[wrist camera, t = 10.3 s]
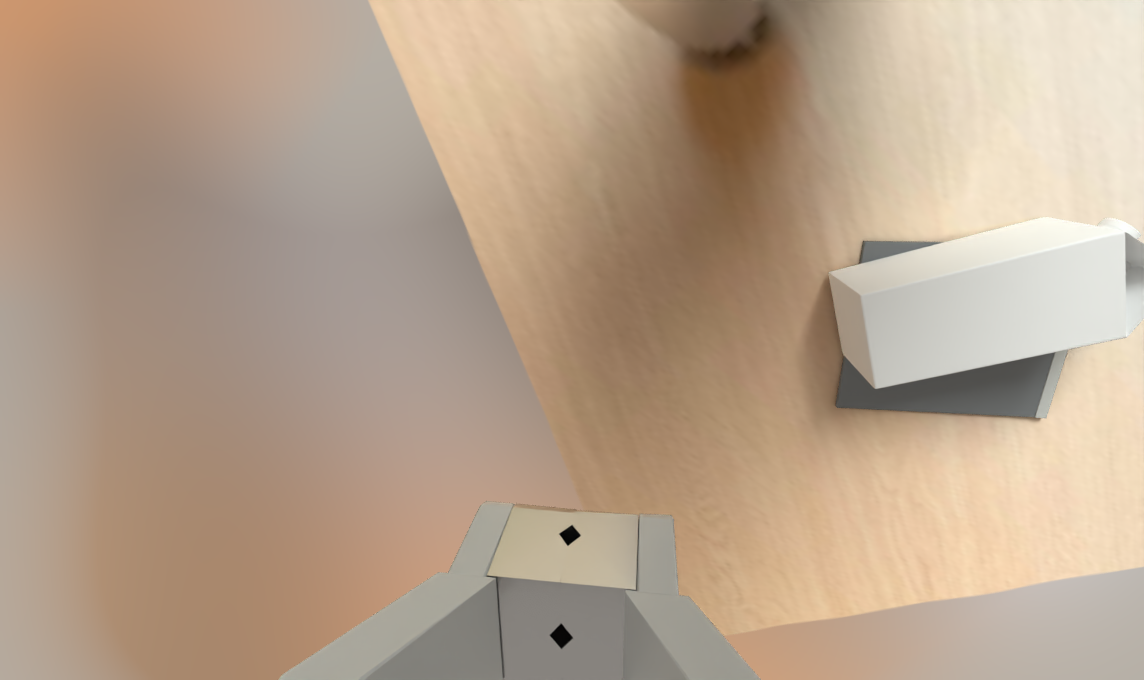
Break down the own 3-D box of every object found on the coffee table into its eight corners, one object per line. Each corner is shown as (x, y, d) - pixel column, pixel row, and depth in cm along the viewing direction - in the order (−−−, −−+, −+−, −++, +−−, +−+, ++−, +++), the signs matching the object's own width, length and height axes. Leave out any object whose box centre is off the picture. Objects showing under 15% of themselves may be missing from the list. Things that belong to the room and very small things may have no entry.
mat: (863, 241, 41) (865, 242, 41) (1096, 243, 39) (1101, 244, 39) (835, 405, 46) (837, 408, 46) (1041, 415, 44) (1046, 418, 43)
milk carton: (839, 354, 44) (1111, 293, 40) (872, 390, 37) (1203, 322, 33) (825, 272, 42) (1109, 198, 38) (857, 295, 35) (1207, 210, 31)
